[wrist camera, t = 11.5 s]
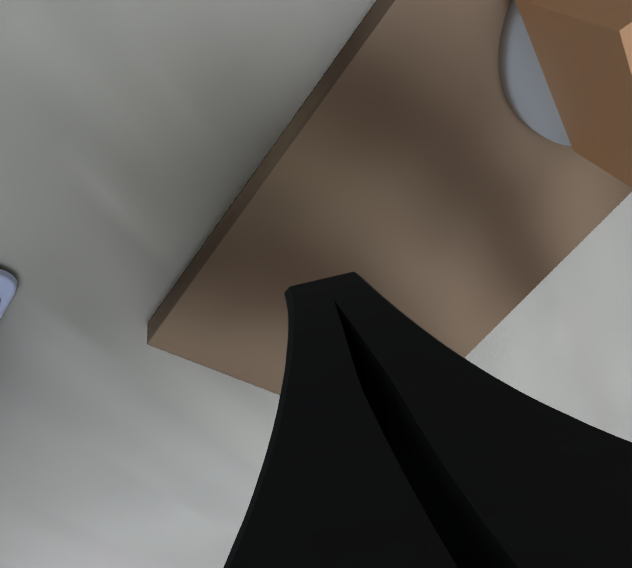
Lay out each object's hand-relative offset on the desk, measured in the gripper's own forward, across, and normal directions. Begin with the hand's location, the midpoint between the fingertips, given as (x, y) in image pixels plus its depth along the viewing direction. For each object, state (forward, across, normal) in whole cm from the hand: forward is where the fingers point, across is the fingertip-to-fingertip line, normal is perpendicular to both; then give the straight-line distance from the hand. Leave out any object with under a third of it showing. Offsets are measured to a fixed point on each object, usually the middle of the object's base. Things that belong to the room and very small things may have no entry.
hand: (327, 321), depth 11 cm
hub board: (+9, -6, +3) cm, 12 cm away
